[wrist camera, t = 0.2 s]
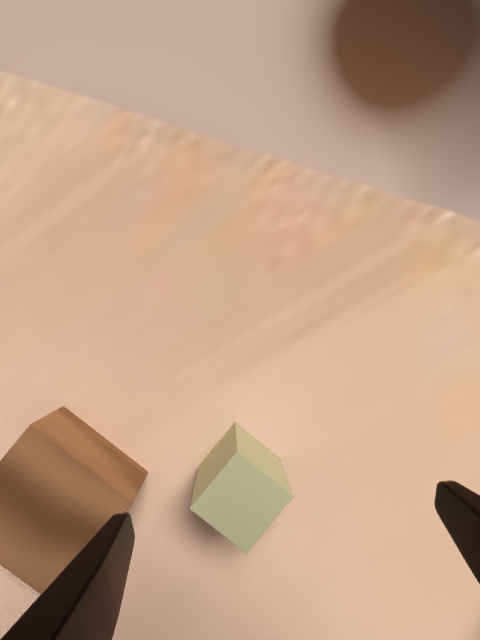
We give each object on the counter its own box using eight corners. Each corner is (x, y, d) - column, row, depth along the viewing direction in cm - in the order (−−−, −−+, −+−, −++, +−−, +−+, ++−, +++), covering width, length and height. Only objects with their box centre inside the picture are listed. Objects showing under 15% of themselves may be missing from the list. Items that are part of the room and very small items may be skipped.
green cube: (242, 501, 23) (246, 553, 18) (198, 466, 23) (189, 508, 18) (279, 457, 23) (293, 496, 18) (235, 421, 23) (237, 451, 18)
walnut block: (82, 551, 23) (51, 601, 19) (-3, 487, 22) (-53, 525, 18) (149, 469, 23) (132, 502, 19) (65, 405, 22) (30, 424, 18)
